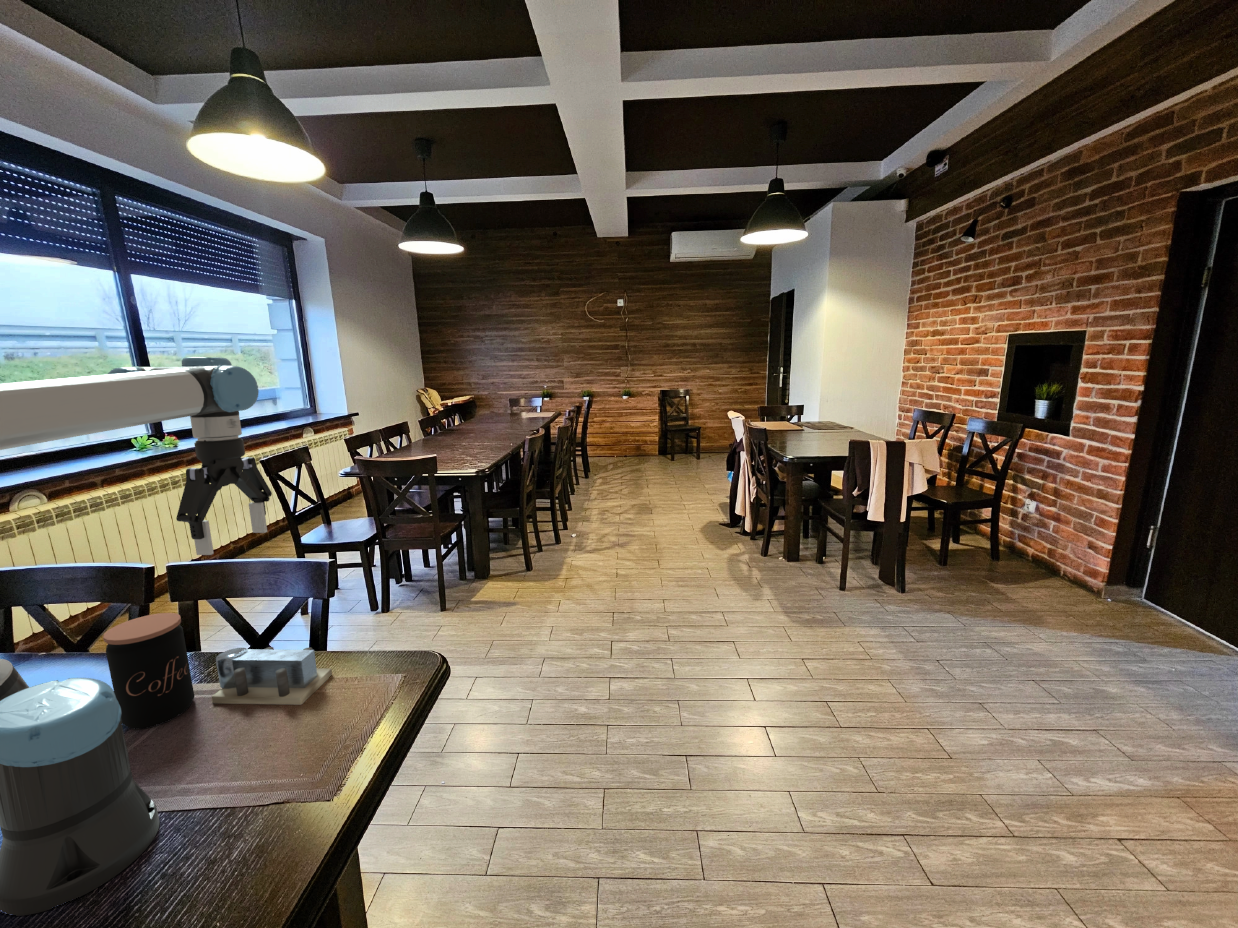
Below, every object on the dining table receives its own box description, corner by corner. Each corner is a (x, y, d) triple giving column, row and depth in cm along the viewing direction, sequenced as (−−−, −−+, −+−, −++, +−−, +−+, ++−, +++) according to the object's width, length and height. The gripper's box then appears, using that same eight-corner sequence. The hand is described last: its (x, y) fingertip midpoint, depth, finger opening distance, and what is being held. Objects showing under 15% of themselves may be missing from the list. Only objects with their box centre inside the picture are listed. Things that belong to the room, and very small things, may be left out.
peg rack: (301, 704, 98) (297, 674, 97) (212, 703, 99) (207, 673, 98) (332, 674, 108) (328, 646, 107) (251, 673, 109) (247, 646, 108)
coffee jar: (127, 740, 89) (108, 646, 86) (115, 716, 96) (97, 628, 93) (202, 708, 98) (188, 622, 94) (187, 688, 104) (172, 607, 101)
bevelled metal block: (319, 674, 106) (316, 648, 105) (302, 689, 101) (299, 662, 100) (233, 673, 107) (229, 647, 106) (213, 688, 101) (209, 661, 100)
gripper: (178, 446, 85) (197, 565, 89) (283, 431, 110) (294, 524, 114) (136, 447, 86) (157, 565, 89) (250, 431, 110) (263, 524, 114)
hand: (234, 542), depth 102 cm, fingers open, 13 cm apart
